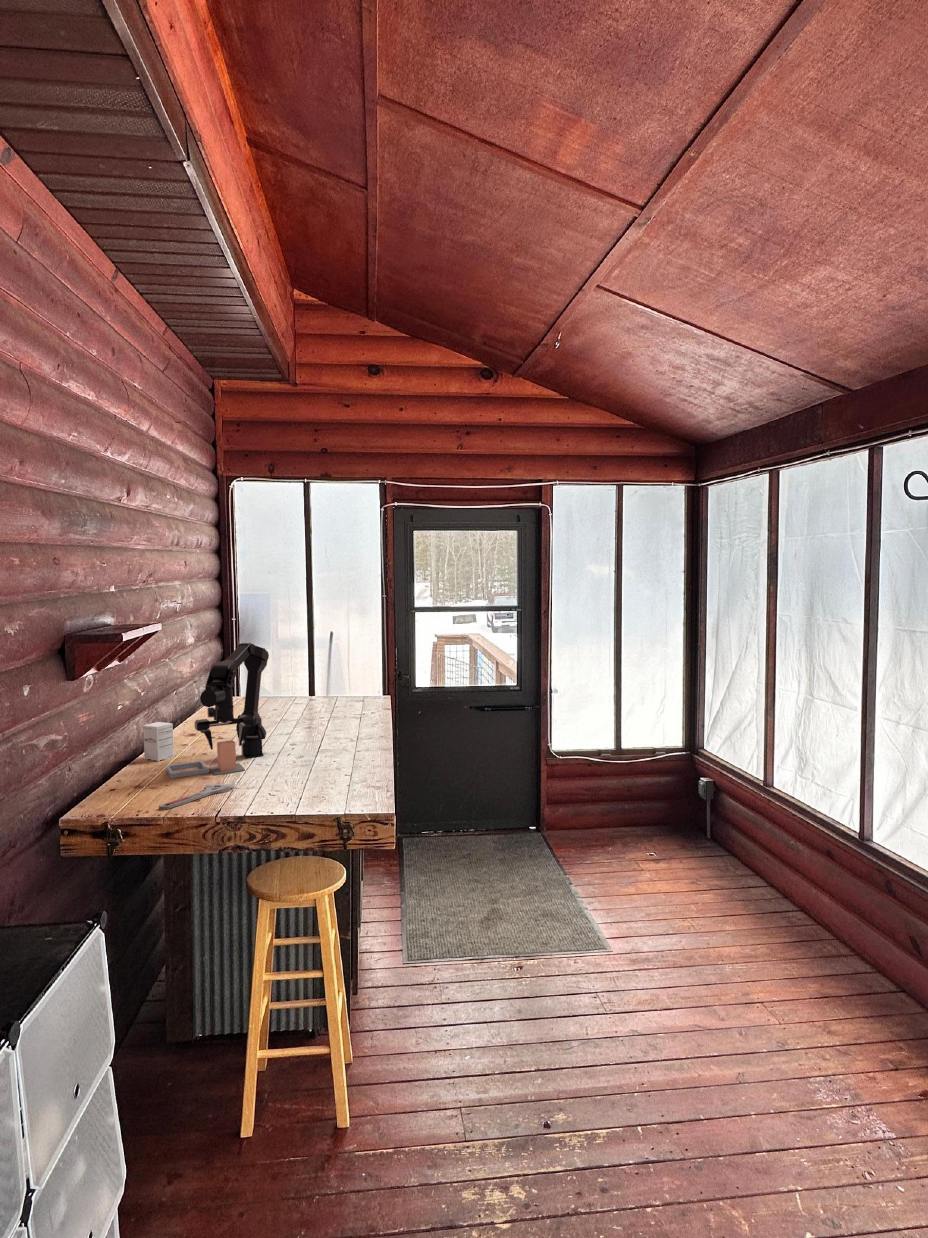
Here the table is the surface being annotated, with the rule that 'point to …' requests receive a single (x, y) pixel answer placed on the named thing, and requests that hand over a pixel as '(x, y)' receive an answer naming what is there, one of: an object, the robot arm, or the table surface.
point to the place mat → (216, 770)
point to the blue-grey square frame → (187, 773)
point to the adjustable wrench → (200, 794)
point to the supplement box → (158, 741)
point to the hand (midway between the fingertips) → (225, 747)
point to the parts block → (226, 755)
